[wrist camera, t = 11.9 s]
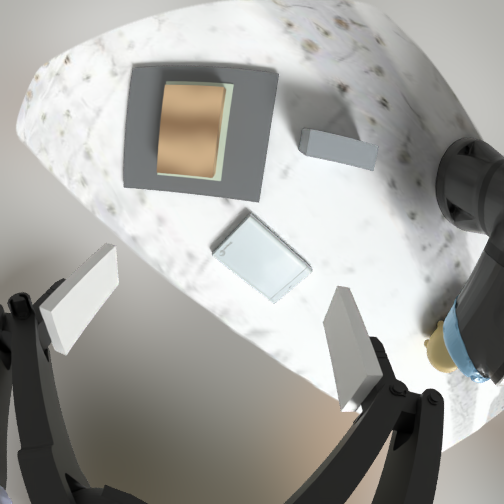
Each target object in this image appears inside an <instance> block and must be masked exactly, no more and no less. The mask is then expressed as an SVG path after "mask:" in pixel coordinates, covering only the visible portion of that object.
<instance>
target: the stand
mask: <svg viewBox="0 0 504 504" xmlns="http://www.w3.org/2000/svg"><path fill="white" fill-rule="evenodd" d="M378 148H379V146H377V145H373V144H370V143H366V142H363V141H359V140H355V139H352V138H348V137H344V136H340V135H336V134H331V133H327V132H322V131H318V130H313V129H306V128H303V129H302V135H301V141H300V146H299V151H300V152H302V153H303V154H304V155H306V156H310V157H315V158H320V159H324V160H329V161H334V162H338V163H343V164H347V165H351V166H355V167H359V168H363V169H367V170H371V171H374V166H375V162H376V157H377V152H378Z"/></svg>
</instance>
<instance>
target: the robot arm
mask: <svg viewBox="0 0 504 504" xmlns="http://www.w3.org/2000/svg"><path fill="white" fill-rule="evenodd" d="M436 192H437V199H438V204H439V207H440V209H441V211H442V213H443V215H444V216H445V218H446V219H447V220H448V221H449V222H450V223H452V224H453V225H455V226H456V227H457V228H459V229H461V230H464V231H468V232H474V233H480V234H486V235H488V236H489V239H488V242H487V244H486V246H485V248H484V250H483V252H482V254H481V256H480V258H479V260H478V262H477V264H476V266H475V268H474V270H473V272H472V273H471V275H470V277H469V279H468V281H467V283H466V284H465V286H464V288H463V289H462V291H461V293H460V294H459V295H458V296H457V297H456V299H455V301H454V304H453V306H452V308H451V310H450V312H449V313H448V315H447V317H446V319H445V321H444V324H443V334H444V335H443V338H444V342H445V345H446V348H447V350H448V353H449V355H450V356H451V358H452V360H453V361H454V363H455V364H456V366H457V367H458V368H459V370H460V371H461V372H462V373H463V374H464V375H465V376H466V377H470V378H471V380H472V381H474V382H477V383H483V382H485V381H488V380H489V379H491V380H492V381H493V382H494V383H495V385H496V386H504V157H503V156H502V155H501V154H500V153H499V152H497V151H496V150H495V149H494V148H493V147H491V146H490V145H489V144H487V143H486V142H484V141H482V140H478V139H474V138H463V139H460V140H458V141H456V142H455V143H453V144H452V145H451V146H450V147H449V148H448V150H447V151H446V153H445V154H444V156H443V158H442V160H441V163H440V166H439V169H438V174H437V181H436ZM118 284H119V279H118V268H117V253H116V245H112V244H107V243H105V244H104V245H103V246H102V247H101V248H100V249H98V250H97V251H96V252H95V253H94V254H93V255H92V256H91V257H90V258H88V259H87V260H86V261H85V262H84V263H83V264H82V265H81V266H80V267H79V268H78V269H77V270H75V271H74V272H73V273H72V274H71V275H70V276H69V277H68V278H67V279H64V278H63V279H61V280H59V281H57V282H55V283H54V284H53V285H52V286H51V287H50V289H48V290H47V291H46V293H45V294H43V295H42V296H41V297H40V298H39V299H38V300H37V301H36V302H35V303H34V304H33V305H32V302H31V298H30V296H29V295H28V294H27V293H24V292H23V293H17V294H15V295H13V296H11V297H10V299H9V300H8V303H7V304H8V307H9V309H10V312H11V313H5V312H4V309H3V307H2V305H0V504H13V503H12V501H11V499H10V498H9V497H8V495H7V493H6V491H5V490H6V481H7V427H8V415H9V405H10V397H11V390H12V384H13V396H14V405H15V412H16V420H17V426H18V432H19V437H20V442H21V450H19V451H18V461H19V465H20V469H21V473H22V476H23V480H24V483H25V486H26V489H27V493H28V495H29V498H30V501H31V504H147V503H146V502H144V501H142V500H140V499H138V498H137V497H135V496H133V495H131V494H128V493H126V492H123V491H120V490H117V489H115V488H112V487H109V486H107V485H105V486H104V488H91V487H90V485H89V483H88V481H87V479H86V477H85V476H84V474H83V473H82V471H81V469H80V467H79V465H78V463H77V460H76V457H75V454H74V451H73V448H72V446H71V443H70V440H69V436H68V434H67V430H66V426H65V423H64V420H63V416H62V412H61V408H60V404H59V400H58V396H57V391H56V386H55V381H54V375H53V370H52V363H51V357H50V351H49V348H48V346H49V345H50V343H51V342H52V345H53V347H54V350H55V351H58V352H60V353H62V354H64V355H67V353H68V352H69V350H70V349H71V348H72V346H73V345H74V343H75V342H76V340H77V339H78V338H79V336H80V334H81V333H82V332H83V330H84V329H85V328H86V326H87V325H88V324H89V322H90V321H91V320H92V318H93V317H94V316H95V314H96V313H97V312H98V310H99V309H100V308H101V306H102V305H103V304H104V302H105V301H106V299H107V298H108V297H109V296H110V294H111V293H112V292H113V291H114V290H115V288H116V287H117V286H118ZM323 324H324V329H325V333H326V338H327V343H328V347H329V352H330V357H331V362H332V367H333V372H334V377H335V382H336V387H337V392H338V398H339V404H340V409H341V412H345V411H356V410H357V409H358V408H359V406H360V405H361V406H362V410H363V411H362V413H361V414H360V415H359V416H358V417H357V418H356V419H355V421H354V422H353V425H352V426H351V428H350V429H349V430H348V432H347V433H346V434H345V436H344V437H343V438H342V440H341V441H340V442H339V443H338V445H337V446H336V447H335V449H334V450H333V451H332V452H331V453H330V455H329V456H328V457H327V458H326V460H325V461H324V462H323V463H322V464H321V465H320V466H319V467H318V469H317V470H316V471H315V472H314V473H313V474H312V475H311V477H309V479H308V480H307V481H306V482H305V483H304V484H303V485H302V486H301V487H300V488H299V489H298V490H297V491H296V492H295V493H294V494H293V495H292V496H291V497H290V498H289V499H288V500H287V501H286V502H285V503H284V504H344V503H345V502H346V501H347V499H348V498H349V497H350V495H351V494H352V492H353V491H354V490H355V488H356V487H357V485H358V484H359V483H360V481H361V480H362V478H363V477H364V476H365V474H366V472H367V471H368V469H369V468H370V466H371V465H372V463H373V462H374V460H375V459H376V457H377V455H378V454H379V452H380V450H381V449H382V447H383V445H384V443H385V442H386V440H387V438H388V436H389V434H390V432H391V431H392V430H393V433H392V437H391V441H390V445H389V450H388V454H387V457H386V461H385V464H384V468H383V471H382V475H381V478H380V481H379V484H378V487H377V490H376V493H375V495H374V498H373V501H372V504H433V500H434V495H435V490H436V485H437V480H438V473H439V466H440V459H441V458H440V457H441V450H442V439H443V423H444V399H443V397H442V395H441V394H440V393H439V392H438V391H436V390H435V389H426V390H425V391H424V392H423V393H422V394H417V393H413V392H409V391H408V388H407V387H406V385H405V384H404V383H403V382H401V381H399V380H397V379H396V378H395V375H394V372H393V370H392V367H391V364H390V362H389V359H388V357H387V354H386V353H385V349H384V347H383V344H382V343H381V342H380V341H379V340H378V338H377V337H369V335H368V333H367V330H366V327H365V325H364V322H363V320H362V317H361V315H360V312H359V310H358V307H357V305H356V303H355V300H354V298H353V295H352V293H351V291H350V288H348V287H342V286H337V288H336V291H335V293H334V296H333V299H332V301H331V304H330V306H329V309H328V311H327V314H326V316H325V319H324V321H323Z"/></svg>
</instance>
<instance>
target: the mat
mask: <svg viewBox="0 0 504 504" xmlns="http://www.w3.org/2000/svg"><path fill="white" fill-rule="evenodd" d="M278 77H279V74H277V73H271V72H264V71H256V70H247V69H238V68H226V67H209V66H153V67H137V68H133V71H132V77H131V85H130V92H129V101H128V110H127V121H126V134H125V152H124V188H137V189H148V190H159V191H169V192H179V193H188V194H197V195H206V196H214V197H222V198H230V199H237V200H245V201H252V202H259V199H260V193H261V186H262V180H263V173H264V167H265V161H266V154H267V148H268V141H269V135H270V128H271V122H272V115H273V109H274V103H275V96H276V90H277V83H278ZM165 85H201V86H217V87H224V88H225V89H226V95H225V102H224V109H223V116H222V124H221V132H220V139H219V148H218V156H217V165H216V174H215V175H214V176H213V178H208V177H198V176H188V175H178V174H166V173H157V159H158V145H159V133H160V122H161V113H162V104H163V96H164V88H165Z"/></svg>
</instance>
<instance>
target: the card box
mask: <svg viewBox="0 0 504 504" xmlns="http://www.w3.org/2000/svg"><path fill="white" fill-rule="evenodd" d="M225 95H226V89H225V88H224V87H217V86H201V85H165V88H164V96H163V104H162V113H161V122H160V133H159V145H158V159H157V173H166V174H178V175H188V176H198V177H208V178H213V176H214V175H215V174H216V165H217V156H218V148H219V139H220V132H221V124H222V116H223V109H224V102H225Z"/></svg>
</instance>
